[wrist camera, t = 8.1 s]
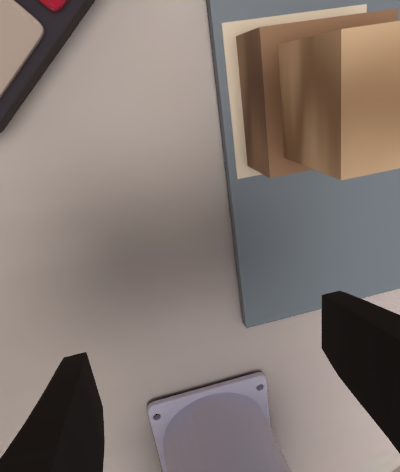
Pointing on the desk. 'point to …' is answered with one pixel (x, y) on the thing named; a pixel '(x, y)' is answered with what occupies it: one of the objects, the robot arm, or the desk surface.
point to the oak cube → (343, 100)
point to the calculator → (31, 44)
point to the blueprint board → (299, 192)
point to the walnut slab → (268, 84)
